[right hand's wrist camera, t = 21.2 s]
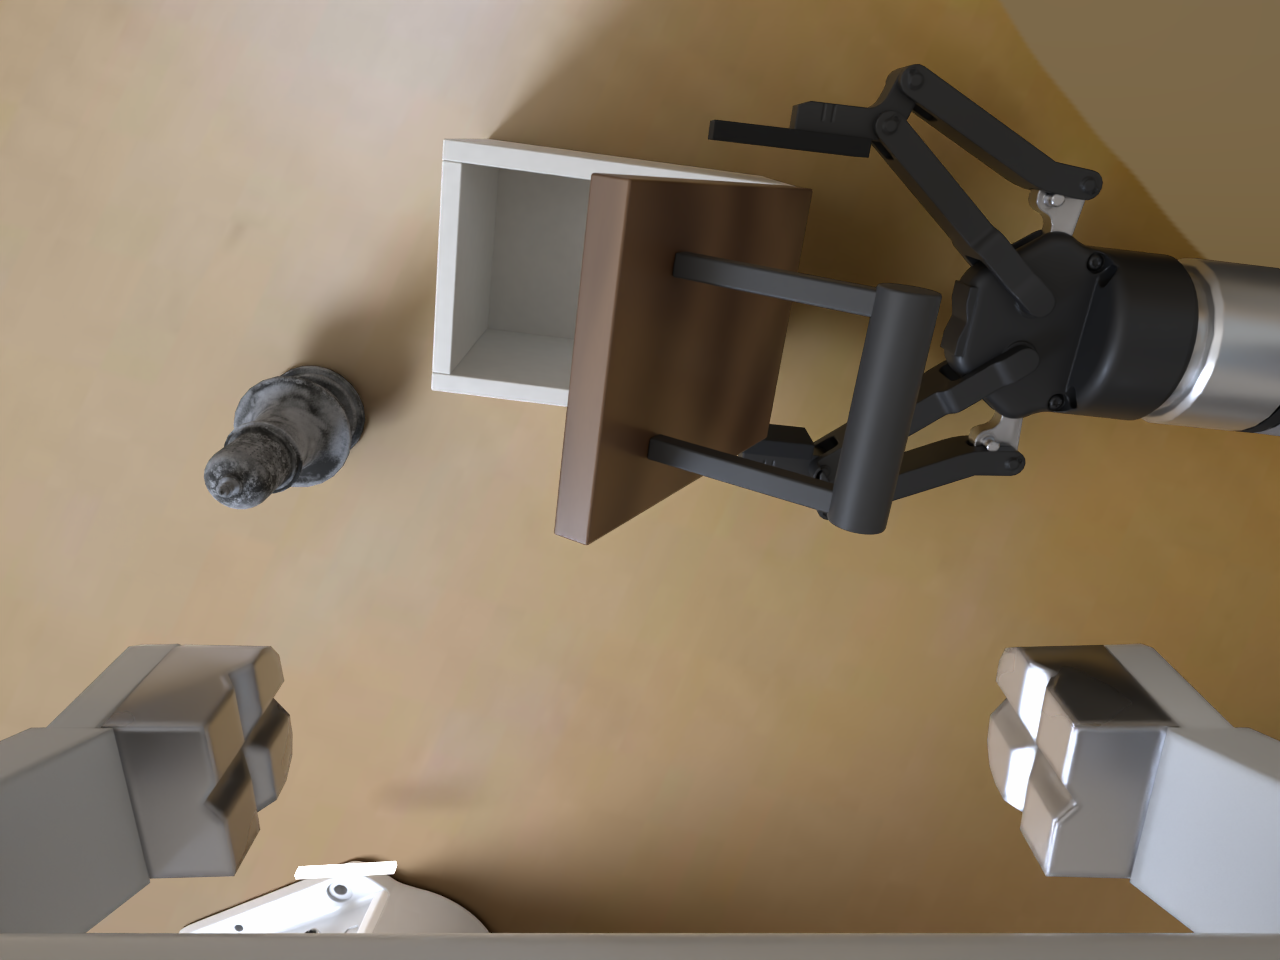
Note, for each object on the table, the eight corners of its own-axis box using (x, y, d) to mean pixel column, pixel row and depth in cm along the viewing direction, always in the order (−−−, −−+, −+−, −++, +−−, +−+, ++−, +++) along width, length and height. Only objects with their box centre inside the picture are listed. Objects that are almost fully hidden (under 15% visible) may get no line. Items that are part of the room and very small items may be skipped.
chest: (474, 338, 48) (430, 390, 38) (487, 138, 45) (442, 138, 35) (729, 370, 49) (752, 429, 39) (762, 176, 45) (796, 186, 35)
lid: (552, 534, 26) (835, 635, 23) (590, 172, 23) (931, 225, 19) (741, 431, 38) (944, 486, 35) (784, 184, 35) (1015, 219, 31)
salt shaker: (276, 343, 48) (164, 406, 37) (383, 384, 49) (306, 457, 37) (249, 441, 50) (136, 529, 39) (353, 479, 51) (271, 576, 39)
